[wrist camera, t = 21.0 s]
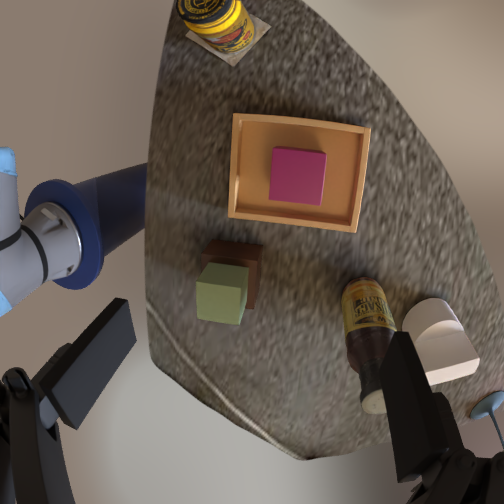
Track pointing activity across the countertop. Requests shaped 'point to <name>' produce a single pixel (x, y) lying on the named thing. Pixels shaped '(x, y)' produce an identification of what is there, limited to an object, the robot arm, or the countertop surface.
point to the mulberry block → (297, 175)
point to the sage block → (222, 293)
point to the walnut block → (237, 262)
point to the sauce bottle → (367, 337)
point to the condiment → (221, 27)
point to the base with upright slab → (440, 341)
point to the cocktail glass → (489, 409)
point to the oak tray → (300, 136)
